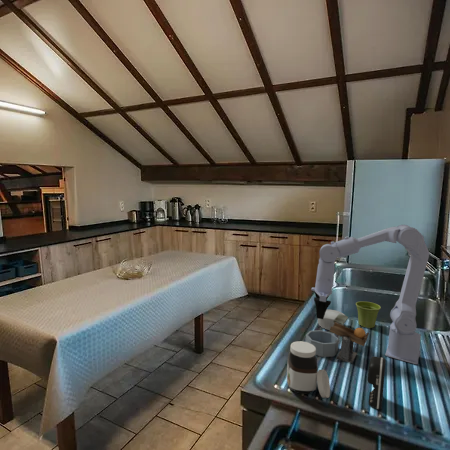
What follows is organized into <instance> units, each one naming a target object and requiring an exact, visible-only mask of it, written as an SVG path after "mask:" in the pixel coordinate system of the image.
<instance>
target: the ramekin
mask: <svg viewBox="0 0 450 450" xmlns="http://www.w3.org/2000/svg"><path fill="white" fill-rule="evenodd" d="M339 314H342V315H345V316H346V314H344V313H343V312H341V311H339V310H334V309H328V308H327V310H326V312H325V315H324V318H323V319H319V318H317V323H318V325H319V327H320V326H321V327H320V328H322V329H324V328H325V329H324V330H327V331H330V328H331V326H332V327H333V325H334V322H333V321H334V319H335V318H336V317H337V316H338V315H339ZM344 324H345V323H344ZM344 324H343V326H345V325H344Z"/></svg>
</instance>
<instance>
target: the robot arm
mask: <svg viewBox="0 0 450 450" xmlns="http://www.w3.org/2000/svg"><path fill="white" fill-rule="evenodd" d="M383 242H384V243H385V242H388V243H391V244H392V243H393V244H397V242H398V244H400V245H402V247H404V248H405V250H406V251H407V253H408V254H409V260H408V263H407V267H406V271H405V274H404V275H405V276H404V279H403V282H402V286H401V290H400V295H399V297H398V300H397V301H396V302H395V304H394V306H393V308H392V309H391V310H390V313H389V317H390V320H391V321H392V322H391V324H390V325H389V334H388V345H387V348H386V351H385V353H384V356H385V357H388V358H391V359H395V360H399V361H403V362H406V363H409V364H413V365H418V364H419V358H420V357H421V349H420V348H421V339H422V338H421V337H422V335H421V334H420V333H419V332H415V331H416V330H417V321H416V316H417V310H416V309H417V308H416V307H417V301H418V298H419V294H420V291H421V287H422V283H423V279H424V276H425V272H426V269H427V266H428V265H427V264H428V262H429V261H428V260H429V257H430V252H429V249H428V246H427V244H426V241H425V238H424V235H423V234H422V233H421V232H420V231H419V230H418V229H416V228H415V227H411V226H410V225H407V224H400V225H398V226H391V227H387V228H384V229H381V230H379V231H375V232H372V233H370V234H367V235H364V236H361V237H358V238H356V237H354V236H350V237H349V236H348V235H347V236H345V237H344V239H340V240H338V241H337V240H336V241H334V240H333V241H330V243H326V244H323V245H322V246H321V247H320V249H319V258H318V264H317V268H316V269H317V270H316V278H315V287H311V289H310V290H311V291H313V292H314V295H315V297H313V301H314V304H315V309H316V314H315V315H316V319H318V318H319V319H323V318H324V315H325V312H326V310H327V309H328V307H330V305H331V303H332V301H331V300H328V298H329V297H330V296H331V295H332V294H333V291H332V289H333V283H334V276H335V270H336V269H335V267H336V266H335V263H336V260H337V259H339V258H340V259H342V258H345V257H348V256H351V255H353V254H358V253H359V252H360V249H361V248H365V247H369V246H372V245H376V244H380V243H383Z"/></svg>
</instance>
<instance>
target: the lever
mask: <svg viewBox="0 0 450 450" xmlns="http://www.w3.org/2000/svg"><path fill="white" fill-rule="evenodd" d="M348 319H349V316H347V315H346V314H345V315H342V314H339V315H338V316H337V317H336V318H335V319H334V321H333V322H334V325H333V327H332V326H331V328H330V330H329V332H330V333H333V334H334V335H335V336H336V335H337V336H339V337H341V338H342V335H345V336H349V337H350V341H352V342H354V344H355V343H356V344H357V345H360V346H362V347H365V345H366V343H367V341H368V338H369V335H370V333H369V332H365V333H366V335H365V337H364V338H363V339H360V338H358V337H355V335H354V330H355V329H352V328H350V327H349V326H348V327H347V326H345V325H343V324H345V323H346V322H347V320H348Z"/></svg>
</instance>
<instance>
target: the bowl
mask: <svg viewBox="0 0 450 450" xmlns="http://www.w3.org/2000/svg"><path fill="white" fill-rule="evenodd" d="M339 341H340V339H339V337H337V336H336V334H334V333H332V332H330V331H325V330H321V329H320V330H319V329H318V330H309V331H308V332H307V333H306V334H305V341H304V342H308V343H310V344H312V345H314V346H315V348H316V354H315V356H319V357H322V358H327V357H335V356H337V354H338V353H339V352H338V351H339Z"/></svg>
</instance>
